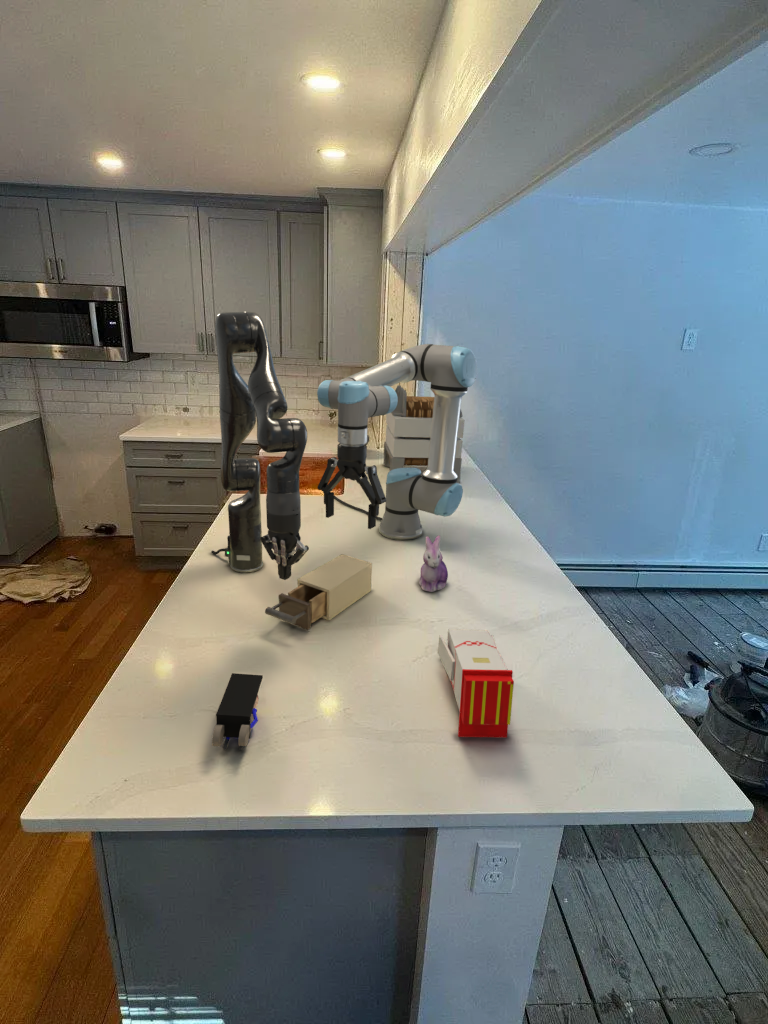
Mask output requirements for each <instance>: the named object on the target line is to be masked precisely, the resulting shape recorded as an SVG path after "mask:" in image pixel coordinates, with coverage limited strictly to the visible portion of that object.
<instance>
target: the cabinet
mask: <svg viewBox="0 0 768 1024" xmlns="http://www.w3.org/2000/svg"><path fill="white" fill-rule="evenodd" d="M372 571H373V563H372V562H369V561H366V560H363V559H360V558H356V557H353V556H350V555H346V554H343V553H341V554H339V555H337V556H336V557H334V558H332V559H331V560H328V561H327V562H325V563H323V564H322V565H320V566H318V567H316V568H315V569H313V570H311V571H309V572H307V573H306V574H304V575H302V576H301V577H298V578H297V579H296V580H297V585H296V586H297V587H298V586H300V585H302V584H304V585H307V586H310V587H313V588H316V589H319V590H322V591H325V592H327V613H326V614H325V615H323V616H322V617H321V618H320V619H324V620H326V621H331V620H332V619H333V618H336V616H338V615H339V614H340V613H342V612H343V611H345V610H347V609H348V608H349V607H351V606H352V605H353V604H354V603H356V602H357V601H359V600H360V599H362V598H363V597H364V596H366V595H367V594H369V593H370V592H371V591H372V573H373V572H372ZM297 587H296V588H297Z"/></svg>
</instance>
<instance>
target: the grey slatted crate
mask: <svg viewBox="0 0 768 1024" xmlns="http://www.w3.org/2000/svg"><path fill="white" fill-rule="evenodd" d="M394 390H395V392H396V394H397V397H398V402H397V406H396V408H395V410H394V411H392V412H391V413H388V414H386V415H385V423H386V428H385V438H384V442H383V466H384V467H388V468H389V471H391V470H394V469H398V468H405V466H406V467H407V466H411V467H412V466H413V467H415V466H416V467H417V466H418V467H428V457H429V447H430V437H431V427H432V416H433V406H434V396H415V395H414V396H413V395H412V396H411V395H407V394H408V393H407V390H406V389H404V388H403V387H402V385H399V384H398V385H397V386H396V388H395V389H394ZM464 429H465V419H464V418H463V411H462V407H461V408H460V417H459V426H458V435H457V444H456V453H455V462H454V472H455V473H456V475H457V483H459V484H460V483H461V472H462V461H463V460H462V453H463V442H464V441H463V440H462V439H463V438H464V431H465V430H464Z"/></svg>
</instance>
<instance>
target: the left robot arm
mask: <svg viewBox="0 0 768 1024" xmlns="http://www.w3.org/2000/svg"><path fill="white" fill-rule="evenodd" d="M264 323H265V322H264V321H263V318H262V317H261V315H260V314H258V313H257V312H254V311H229V312H226V311H225V312H220V313H218V314H217V315H216V317H215V322H214V334H215V335H214V337H215V346H216V355H217V365H218V379H219V380H218V382H219V383H218V385H219V400H218V403H219V422H220V423H219V424H220V437H221V438H220V439H221V447H220V448H221V451H220V481H221V482H220V483H221V485H222V488H223V489H224V490H225V491H227V492H245V494H243V495H242V496H240V497H237V498H235V499H233V500H231V501H229V503H228V505H227V515H228V531H229V534H228V535H227V537H226V539H227V547H225V548H220V549H218V550H216V551H215V550H211V552H210V553H211V554H213V555H218V554H220V553H221V552H224V557H226V558H228V566H229V567H230V569H231V570H232V571H235V572H237V573H253V572H256V571H260V570H261V569H262V568H263V567H264V561H263V547H264V549H265V551H266V553H267V555H268V556H269V558H270V560H272V561H275V562H276V564H277V575H278V579H280V580H282V581H286V580H288V579H290V578H291V576H292V566H293V565H295V564H297V563H299V562H300V560H301V559H302V558H303V557H304V556H305V555H306V553H307V552H308V551H309V550H310V548H309V545H304V544H303V542H302V541H301V540H302V537H301V535H300V530H301V525H302V524H301V522H302V521H301V520H302V515H301V513H302V512H301V511H302V510H301V507H302V506H301V493H300V492H301V491H300V471H301V465H302V460H303V457H304V453H305V450H306V447H307V442H308V430H307V426H306V425H305V423H304V422H303V420H301V419H300V418H297V417H287V418H283V417H284V416H285V415H286V414H287V412H288V409H289V408H288V403H287V399H286V398H285V395H284V393H283V389H282V387H281V385H280V383H279V379H278V376H277V373H276V369H275V364H274V359H273V355H272V350H271V346H270V342H269V337H268V334H267V330H266V325H265V324H264ZM248 353H250V354H251V353H255V354H256V359H255V363H254V365H253V367H252V370H251V372H250V374H249V377H248V381H247V382H246V381H245V379H244V378H243V377H242V376H241V374H240V372H239V371H238V369H237V367H236V365H235V363H234V359H233V358H234V354H248ZM255 426H256V441H257V443H258V446H259V448H260V449H261V450H262V451H263V452H265V453H266V454H267V453H268V454H275V453H285V454H284V455H283V456H282V458H280V459H278V460H275V461H271V462H270V463H269V464H268V465H267V466H266V497H265V510H266V512H265V513H266V528H267V534H265V535H263V534H262V533H263V531H262V508H261V507H262V505H261V504H262V503H261V485H262V484H261V481H262V480H261V479H262V472H261V464H260V461H259V460H258V459H257V458H256V457H242V458H241V457H239V458H237V457H236V454H237V452H238V450H239V448H240V447H241V445H242V444H243V443H244V442H245V440H246V439H247V438H248V436H249V435H250V434H251V433H252V432H253V429H254V428H255ZM235 457H236V458H235ZM246 491H247V492H246Z"/></svg>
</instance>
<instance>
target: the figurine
mask: <svg viewBox="0 0 768 1024" xmlns="http://www.w3.org/2000/svg"><path fill="white" fill-rule="evenodd" d="M424 540H425V551H424V553H423V556H422V559H423V562H424V563H423V564H422V565H421V566H420V578H419V581H418V583H419V586H420V587H421V590H422V591H425V592H431V593H432V592H434V593H435V592H436V591H442V590H443V589H444V588H445V587H446V586H447V582H448V578H449V571H448V567H447V565H446V563H445V562H444V560H443V558H444V557H443V554H442V552H441V551H442V550H441V549H440V545H441V540H442V538H441V535H437V536H436V537H435V539H434V540H433V542H432V540H431V538H430V536H428V535H427V536H425V539H424Z"/></svg>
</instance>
